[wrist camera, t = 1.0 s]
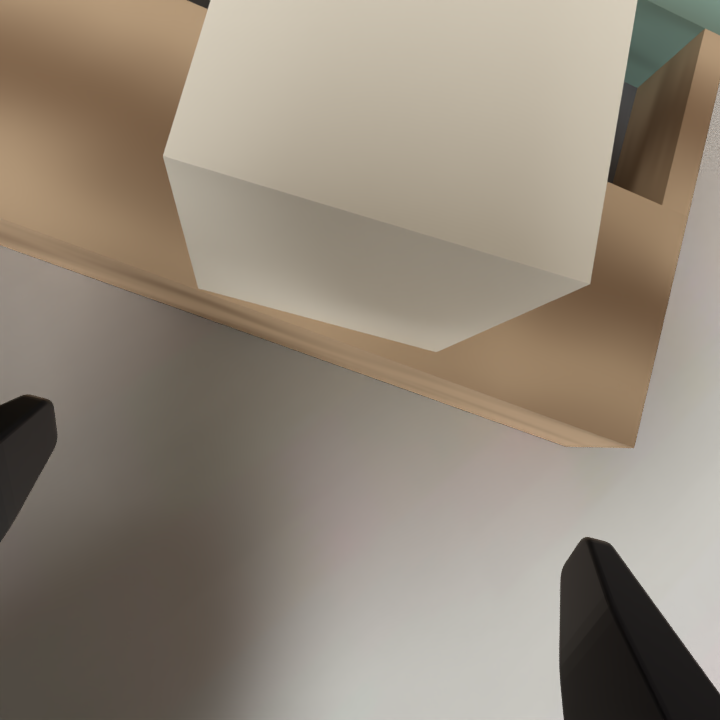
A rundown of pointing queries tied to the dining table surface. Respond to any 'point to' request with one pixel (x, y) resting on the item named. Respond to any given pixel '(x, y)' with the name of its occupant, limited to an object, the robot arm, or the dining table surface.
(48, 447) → the robot arm
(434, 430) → the dining table surface
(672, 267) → the trap board
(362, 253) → the cream block
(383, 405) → the dining table surface
